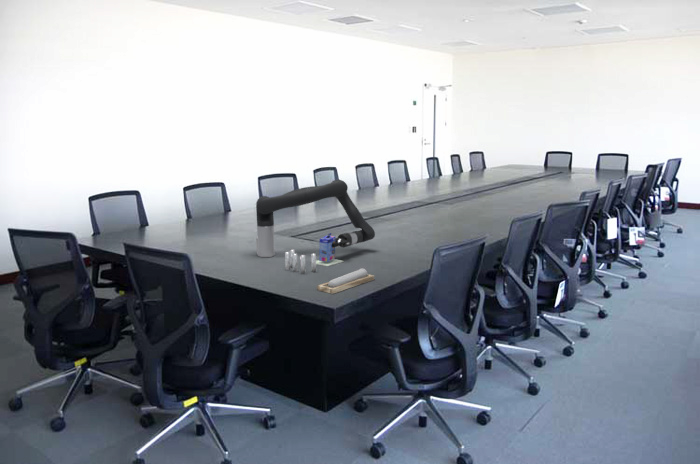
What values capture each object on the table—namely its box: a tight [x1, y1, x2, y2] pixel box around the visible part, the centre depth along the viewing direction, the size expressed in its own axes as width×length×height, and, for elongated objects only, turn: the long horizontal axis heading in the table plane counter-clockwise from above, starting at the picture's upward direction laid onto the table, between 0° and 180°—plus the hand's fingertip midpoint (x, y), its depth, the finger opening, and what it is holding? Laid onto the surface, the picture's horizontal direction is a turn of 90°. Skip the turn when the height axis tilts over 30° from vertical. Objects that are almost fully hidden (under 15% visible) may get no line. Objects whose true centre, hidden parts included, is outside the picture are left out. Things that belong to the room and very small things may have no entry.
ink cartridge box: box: [318, 232, 336, 262], centre depth 290 cm, size 10×6×14 cm, turn 158°
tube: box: [328, 267, 368, 288], centre depth 251 cm, size 5×5×25 cm
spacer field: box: [284, 248, 317, 275], centre depth 276 cm, size 17×8×9 cm, turn 50°
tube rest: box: [316, 274, 375, 295], centre depth 251 cm, size 9×29×2 cm, turn 140°
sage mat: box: [316, 258, 344, 267], centre depth 292 cm, size 12×13×1 cm
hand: (327, 244), depth 291 cm, fingers closed on ink cartridge box, 6 cm apart
